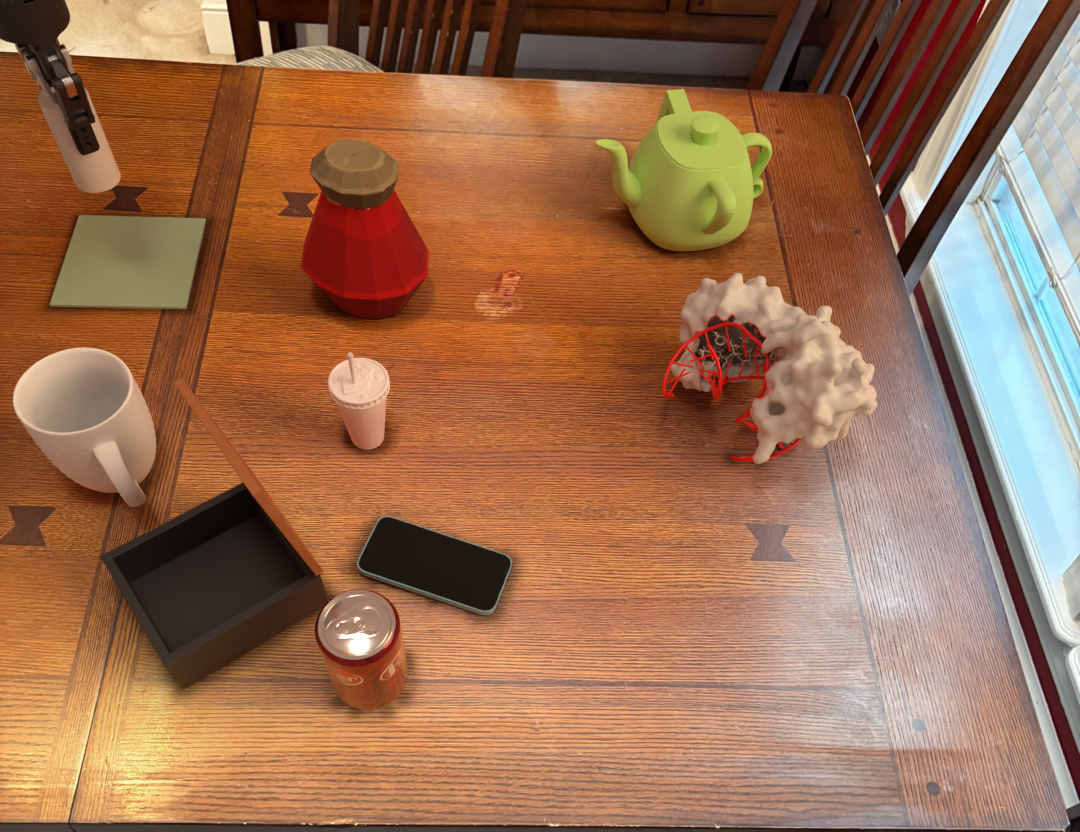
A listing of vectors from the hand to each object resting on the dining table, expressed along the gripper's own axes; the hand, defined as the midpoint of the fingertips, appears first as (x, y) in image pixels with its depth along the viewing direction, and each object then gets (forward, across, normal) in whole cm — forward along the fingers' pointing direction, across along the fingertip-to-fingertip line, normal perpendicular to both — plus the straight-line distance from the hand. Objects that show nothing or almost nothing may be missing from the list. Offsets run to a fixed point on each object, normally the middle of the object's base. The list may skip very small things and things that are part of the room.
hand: (79, 136), depth 98 cm
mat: (+18, 0, 0) cm, 18 cm away
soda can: (+18, +65, -5) cm, 67 cm away
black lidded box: (+18, +49, -12) cm, 53 cm away
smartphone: (+18, +58, +7) cm, 61 cm away
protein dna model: (+18, +62, +48) cm, 81 cm away
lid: (+3, +49, -6) cm, 49 cm away
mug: (+18, +30, -14) cm, 37 cm away
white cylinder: (+5, 0, 0) cm, 5 cm away
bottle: (+18, +21, +22) cm, 35 cm away
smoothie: (+18, +40, +10) cm, 45 cm away
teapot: (+18, +31, +64) cm, 73 cm away
